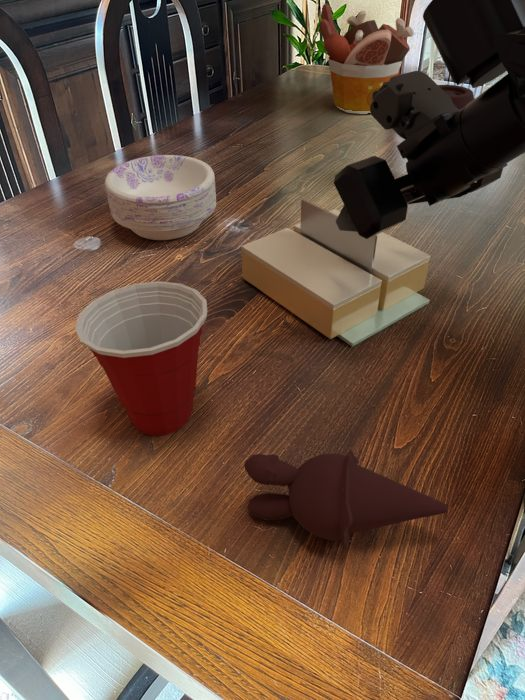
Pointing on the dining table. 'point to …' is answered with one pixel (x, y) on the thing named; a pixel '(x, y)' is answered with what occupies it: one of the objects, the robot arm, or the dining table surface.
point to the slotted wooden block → (337, 282)
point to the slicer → (336, 236)
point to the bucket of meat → (362, 57)
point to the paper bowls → (161, 195)
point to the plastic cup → (148, 349)
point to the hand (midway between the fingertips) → (369, 212)
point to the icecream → (335, 496)
